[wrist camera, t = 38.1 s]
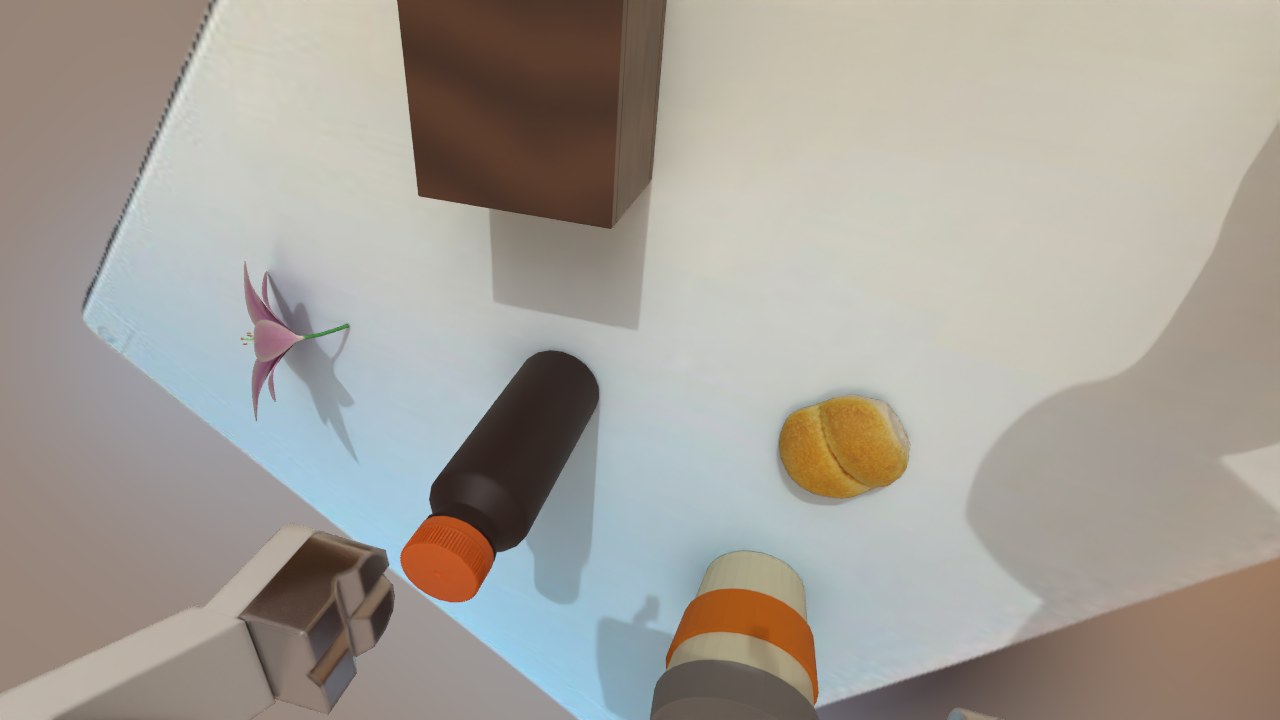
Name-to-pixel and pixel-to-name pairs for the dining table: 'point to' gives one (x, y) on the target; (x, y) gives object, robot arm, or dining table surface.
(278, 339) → the lily
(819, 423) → the bread roll
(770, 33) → the dining table surface
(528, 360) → the bottle
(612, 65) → the cabinet
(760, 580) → the reusable coffee cup
